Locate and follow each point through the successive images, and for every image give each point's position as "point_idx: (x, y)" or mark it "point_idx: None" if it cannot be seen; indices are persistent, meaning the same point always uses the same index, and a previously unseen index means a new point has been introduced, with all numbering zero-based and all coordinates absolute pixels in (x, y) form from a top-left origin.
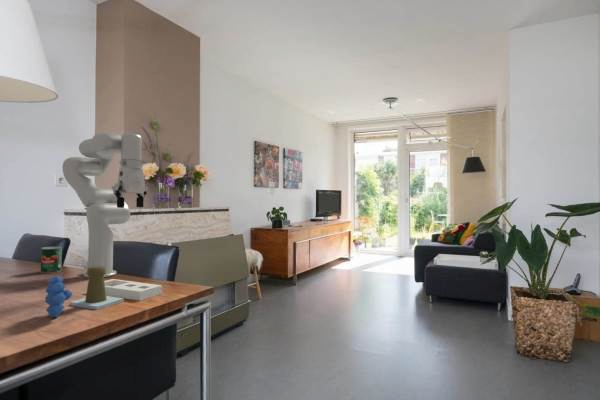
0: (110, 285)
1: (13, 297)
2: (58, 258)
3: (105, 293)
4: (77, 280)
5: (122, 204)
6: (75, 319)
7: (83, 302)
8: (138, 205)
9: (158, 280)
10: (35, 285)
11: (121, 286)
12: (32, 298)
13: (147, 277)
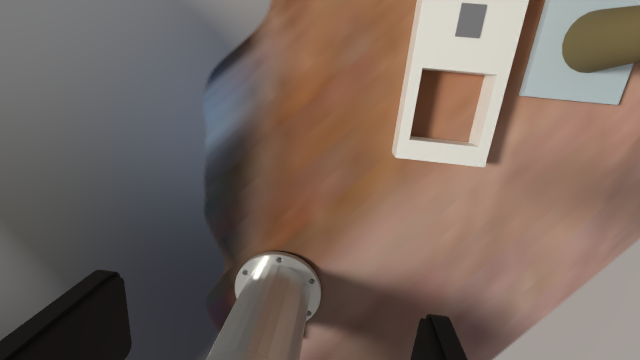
0: (420, 138)
1: (553, 292)
2: None
3: (600, 13)
4: (354, 295)
5: (459, 353)
6: None
7: None
8: (114, 338)
9: (266, 76)
10: None
11: (490, 42)
12: (555, 246)
13: (244, 142)
